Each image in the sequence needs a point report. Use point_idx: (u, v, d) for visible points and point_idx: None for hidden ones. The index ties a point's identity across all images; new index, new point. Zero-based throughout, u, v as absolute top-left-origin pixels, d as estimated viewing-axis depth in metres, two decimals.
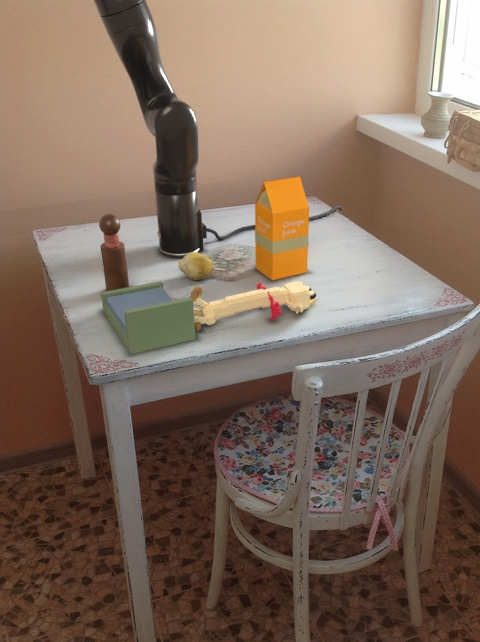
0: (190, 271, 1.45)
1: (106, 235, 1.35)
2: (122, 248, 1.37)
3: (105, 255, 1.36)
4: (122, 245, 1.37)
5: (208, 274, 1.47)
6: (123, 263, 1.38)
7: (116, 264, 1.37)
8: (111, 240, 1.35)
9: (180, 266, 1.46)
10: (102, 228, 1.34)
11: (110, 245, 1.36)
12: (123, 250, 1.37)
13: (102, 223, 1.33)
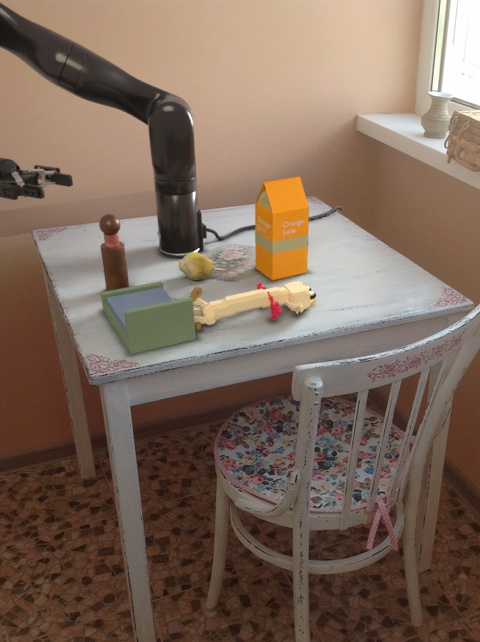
0: (190, 271, 1.45)
1: (106, 235, 1.35)
2: (122, 248, 1.37)
3: (105, 255, 1.36)
4: (122, 245, 1.37)
5: (208, 274, 1.47)
6: (123, 263, 1.38)
7: (116, 264, 1.37)
8: (111, 240, 1.35)
9: (180, 266, 1.46)
10: (102, 228, 1.34)
11: (110, 245, 1.36)
12: (123, 250, 1.37)
13: (102, 223, 1.33)
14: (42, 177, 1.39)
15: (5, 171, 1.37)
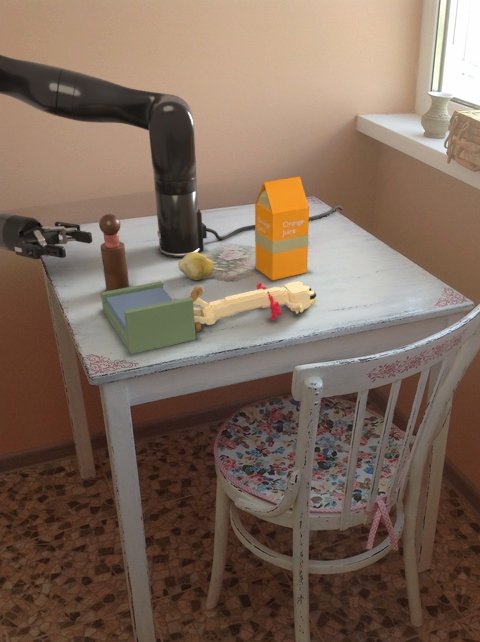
0: (190, 271, 1.45)
1: (106, 235, 1.35)
2: (122, 248, 1.37)
3: (105, 255, 1.36)
4: (122, 245, 1.37)
5: (208, 274, 1.47)
6: (123, 263, 1.38)
7: (116, 264, 1.37)
8: (111, 240, 1.35)
9: (180, 266, 1.46)
10: (102, 228, 1.34)
11: (110, 245, 1.36)
12: (123, 250, 1.37)
13: (102, 223, 1.33)
14: (63, 234, 1.45)
15: (27, 229, 1.43)
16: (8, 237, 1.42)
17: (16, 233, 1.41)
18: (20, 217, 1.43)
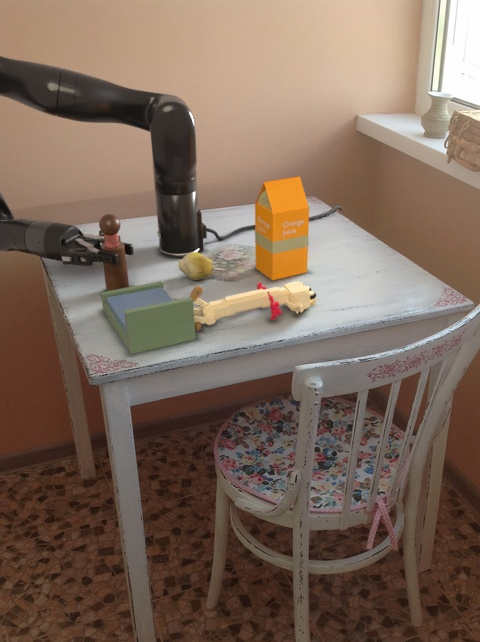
0: (190, 271, 1.45)
1: (106, 235, 1.35)
2: (122, 248, 1.37)
3: None
4: (122, 245, 1.37)
5: (208, 274, 1.47)
6: (123, 263, 1.38)
7: (116, 264, 1.37)
8: (111, 240, 1.35)
9: (180, 266, 1.46)
10: (102, 228, 1.34)
11: (110, 245, 1.36)
12: (123, 250, 1.37)
13: (102, 223, 1.33)
14: None
15: (69, 237, 1.39)
16: (49, 245, 1.39)
17: (58, 241, 1.38)
18: (61, 225, 1.40)
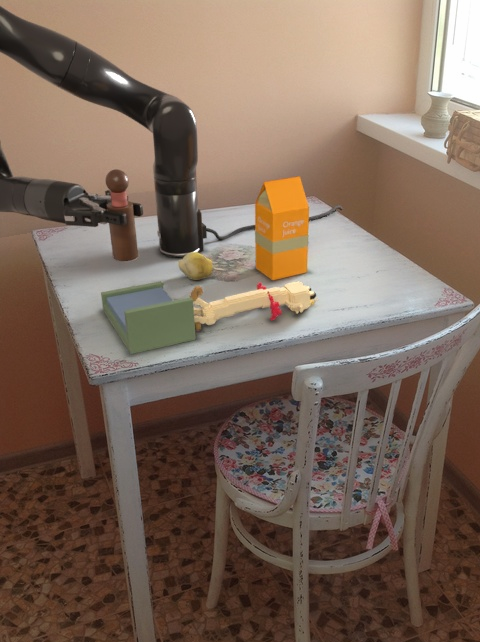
0: (190, 271, 1.45)
1: (113, 193, 1.23)
2: (130, 208, 1.25)
3: None
4: (130, 204, 1.25)
5: (208, 274, 1.47)
6: (131, 225, 1.26)
7: None
8: (118, 198, 1.23)
9: (180, 266, 1.46)
10: (109, 184, 1.22)
11: (117, 204, 1.24)
12: (132, 210, 1.25)
13: (109, 179, 1.21)
14: None
15: (72, 196, 1.28)
16: (51, 205, 1.27)
17: (60, 200, 1.26)
18: (64, 183, 1.28)
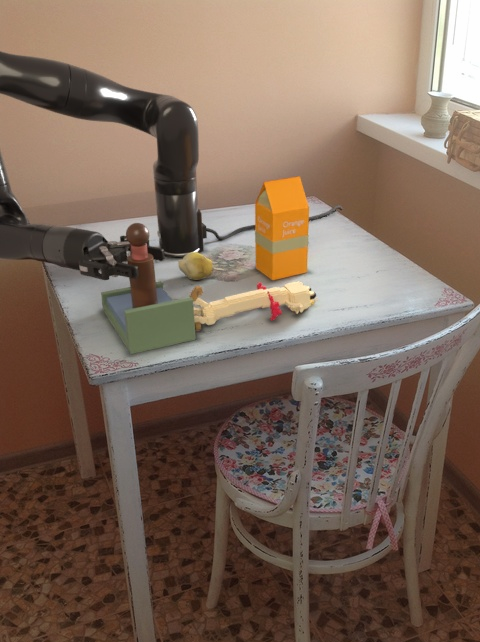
0: (190, 271, 1.45)
1: (134, 246, 1.21)
2: (151, 261, 1.23)
3: None
4: (151, 257, 1.23)
5: (208, 274, 1.47)
6: (151, 278, 1.24)
7: (144, 278, 1.23)
8: (139, 252, 1.21)
9: (180, 266, 1.46)
10: (129, 239, 1.20)
11: (138, 257, 1.22)
12: (152, 262, 1.23)
13: (129, 233, 1.19)
14: None
15: (92, 245, 1.25)
16: (70, 254, 1.25)
17: (80, 250, 1.24)
18: (83, 231, 1.26)
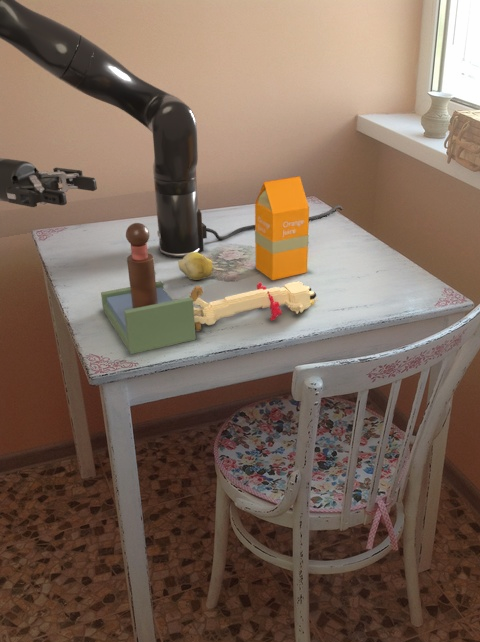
0: (190, 271, 1.45)
1: (134, 246, 1.21)
2: (151, 261, 1.23)
3: (132, 269, 1.23)
4: (151, 257, 1.23)
5: (208, 274, 1.47)
6: (151, 278, 1.24)
7: (144, 278, 1.23)
8: (139, 252, 1.21)
9: (180, 266, 1.46)
10: (129, 239, 1.20)
11: (138, 257, 1.22)
12: (152, 262, 1.23)
13: (129, 233, 1.19)
14: (63, 181, 1.25)
15: (21, 174, 1.23)
16: (0, 183, 1.23)
17: (9, 178, 1.22)
18: (13, 161, 1.24)
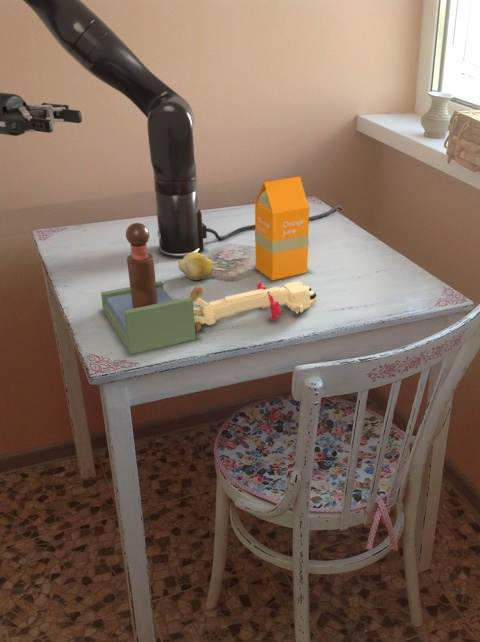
0: (190, 271, 1.45)
1: (134, 246, 1.21)
2: (151, 261, 1.23)
3: (132, 269, 1.23)
4: (151, 257, 1.23)
5: (208, 274, 1.47)
6: (151, 278, 1.24)
7: (144, 278, 1.23)
8: (139, 252, 1.21)
9: (180, 266, 1.46)
10: (129, 239, 1.20)
11: (138, 257, 1.22)
12: (152, 262, 1.23)
13: (129, 233, 1.19)
14: (50, 113, 1.34)
15: (11, 106, 1.32)
16: None
17: None
18: (3, 93, 1.32)
